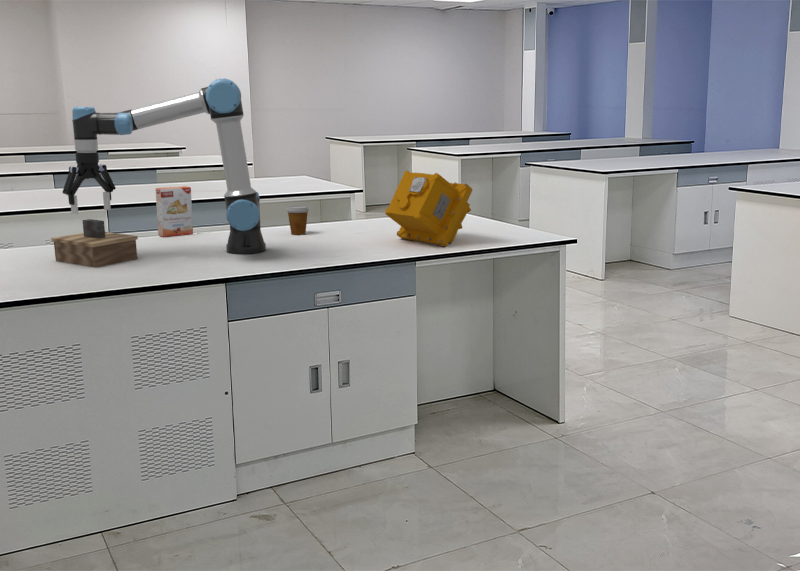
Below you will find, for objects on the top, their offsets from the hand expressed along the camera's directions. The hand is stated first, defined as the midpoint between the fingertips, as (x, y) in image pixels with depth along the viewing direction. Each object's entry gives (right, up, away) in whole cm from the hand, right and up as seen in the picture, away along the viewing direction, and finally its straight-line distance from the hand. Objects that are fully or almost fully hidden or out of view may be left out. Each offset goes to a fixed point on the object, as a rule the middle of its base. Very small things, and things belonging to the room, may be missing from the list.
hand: (91, 212), depth 278 cm
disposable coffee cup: (+66, -4, +65) cm, 92 cm away
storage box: (0, -18, +4) cm, 18 cm away
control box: (+123, -8, +45) cm, 131 cm away
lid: (0, -11, +3) cm, 11 cm away
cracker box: (+12, -4, +62) cm, 64 cm away
